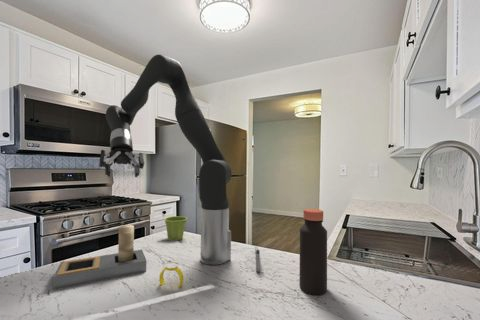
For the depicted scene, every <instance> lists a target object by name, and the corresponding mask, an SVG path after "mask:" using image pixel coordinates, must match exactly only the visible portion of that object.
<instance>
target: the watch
mask: <svg viewBox="0 0 480 320" xmlns="http://www.w3.org/2000/svg"><path fill="white" fill-rule="evenodd" d="M166 271H169V272H173V271H175V272H176V273H177V274H178V277H179V284H178V286H177V288H180V287H181V286H182V285H183V283H184V273H183V271H182V269H180V267H178V264H177V263H168V264H166V267H164V268H163V269H162V271H161V272H160V273H159V282H160V283H159V284H160V286H164V285H165V283H166V282H165V280H164V273H165V272H166Z"/></svg>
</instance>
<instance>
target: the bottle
mask: <svg viewBox="0 0 480 320" xmlns="http://www.w3.org/2000/svg"><path fill="white" fill-rule="evenodd" d="M303 221H304V224H303V225H302V226H301V227H300V228H299V284H298V285H299V288H300V289H301V290H302V291H303V292H304V293H307V294H309V295H313V296H322V295H325V294H326V293H327V292H328V230H327V229H326V228H325V226H323V223H324V210H322V209H316V208H305V209H303Z"/></svg>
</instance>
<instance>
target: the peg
mask: <svg viewBox="0 0 480 320" xmlns="http://www.w3.org/2000/svg"><path fill="white" fill-rule="evenodd" d="M134 237H135V226H134V225H132V224H129V225H128V224H127V225H121V226H119V227H118V247H117V248H118V250H117V251H118V252H117V253H118V263H119V262H125V261H131V260H133V251H134V249H135V248H134V247H135V246H134V244H135V243H134V242H135V241H134V240H135V238H134Z"/></svg>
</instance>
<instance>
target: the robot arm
mask: <svg viewBox="0 0 480 320" xmlns="http://www.w3.org/2000/svg"><path fill="white" fill-rule="evenodd" d="M157 83H161V84H166V85H168V86H169V87H170V89H171V91H172V93H173V95H174V97H175V108H174V116H175V117H174V118H175V119H176V122H177V123H178V126H179V128H180V130H181V132H182V134H183V135H184V137H185V138H186V139H187V141H188V142H189V143H190V144H191V146H192V147H193V148H194V149H195V151H196V152H197V153H198V154H199V156H200V158H201V161H202V163H203V164H202V165H200V166H201V167H200V169H199V171H198V172H199V174H198V190H199V192H198V196H199V200H200V203H201V209H200V211H201V212H200V213H201V214H200V218H201V219H200V220H201V221H200V254H199V255H200V261H201V262H202V263H203V264H205V265H209V266H210V265H211V266H214V265H221V264H225V263H227V262H228V261H231V259H232V258H231V257H232V256H231V255H232V252H231V251H232V231H231V230H230V229H229V227H230V226H229V225H230V224H229V223H230V200H229V199H228V195H227V184H229V182H230V181H231V180H232V179H231V178H232V168H231V166H230V165H229V162H228V161H227V160H226V158H225V157H224V155H223V153H222V152H221V150H220V148H219V146H218V145H217V143H216V140H215V137H214V135H213V133H212V131H211V128H210V127H209V125H208V123H207V120H206V118H205V115H204V114H203V111H202V110H201V108H200V106H199V105H198V102H197V100H196V98H195V96H194V94H193V92H192V90H191V87H190V85H189V82H188V79H187V77H186V73H185V71H184V68H183V67H182V64H181V63H180V62H179V61H178V60H176V59H174V58H172V57H169V56H166V55H163V54H156V55H153V56H152V57H151V58H150V60H149V61H148V62H147V64H146V66H145V67H144V69H143V71H142V73H141V74H140V76H139V78H138V80H137V82H136V83H135V85H134V86H133V88H132V89H131V90H130V91H129V92H128V93H127V94H126V95H125V96H124V98H123V99H122V100H121V102H120V106H121V107H120V106H119V105H110V106H109V107H107V108H106V112H105V120H106V122H107V124H108V126H109V129H110V139H109V144H110V145H109V147H110V149H109V151H106V150H104V149H101V150H100V156H99V162H98V166H99V167H100V168H104V174H105V176H107V177H109V178H110V177H111V167H113V166H114V165H115V164H117V165H129V166H130V168H131V167H132V168H133V169H134V170H133V171H134V172H133V173H134V177H135V178H138V176H140V174H141V172H140V169H141V170H142V169H144V166H145V161H144V155H143V153H142V152H139V154H137V153H135V152H134V149H133V148H134V147H133V138H132V134H131V126H132V124H133V122H134V119H135V117H136V116H137V114H138V112H139V111H140V110H141V109H142V108H144V106H145V105H146V103H148V100H149V94H150V93H149V92H150V89H151V88H152V87H153V86H154V85H156V84H157ZM107 157H109V159H108V160H107V161H105V159H107Z"/></svg>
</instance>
